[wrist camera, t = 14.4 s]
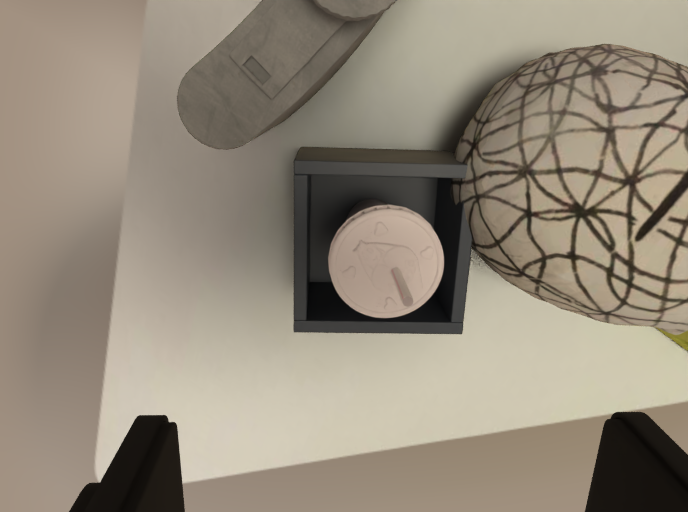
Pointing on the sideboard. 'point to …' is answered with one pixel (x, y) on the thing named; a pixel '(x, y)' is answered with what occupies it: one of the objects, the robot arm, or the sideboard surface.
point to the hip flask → (271, 66)
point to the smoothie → (385, 259)
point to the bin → (394, 189)
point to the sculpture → (585, 184)
